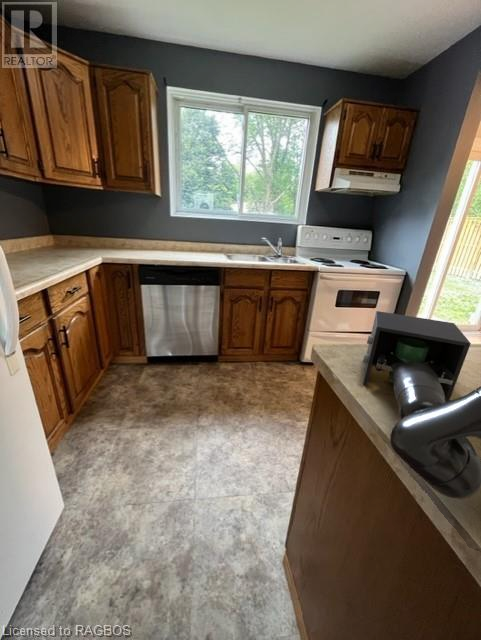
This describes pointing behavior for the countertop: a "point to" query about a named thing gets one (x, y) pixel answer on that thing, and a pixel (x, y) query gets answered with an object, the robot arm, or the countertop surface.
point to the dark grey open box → (439, 335)
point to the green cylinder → (411, 350)
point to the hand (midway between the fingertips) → (407, 354)
